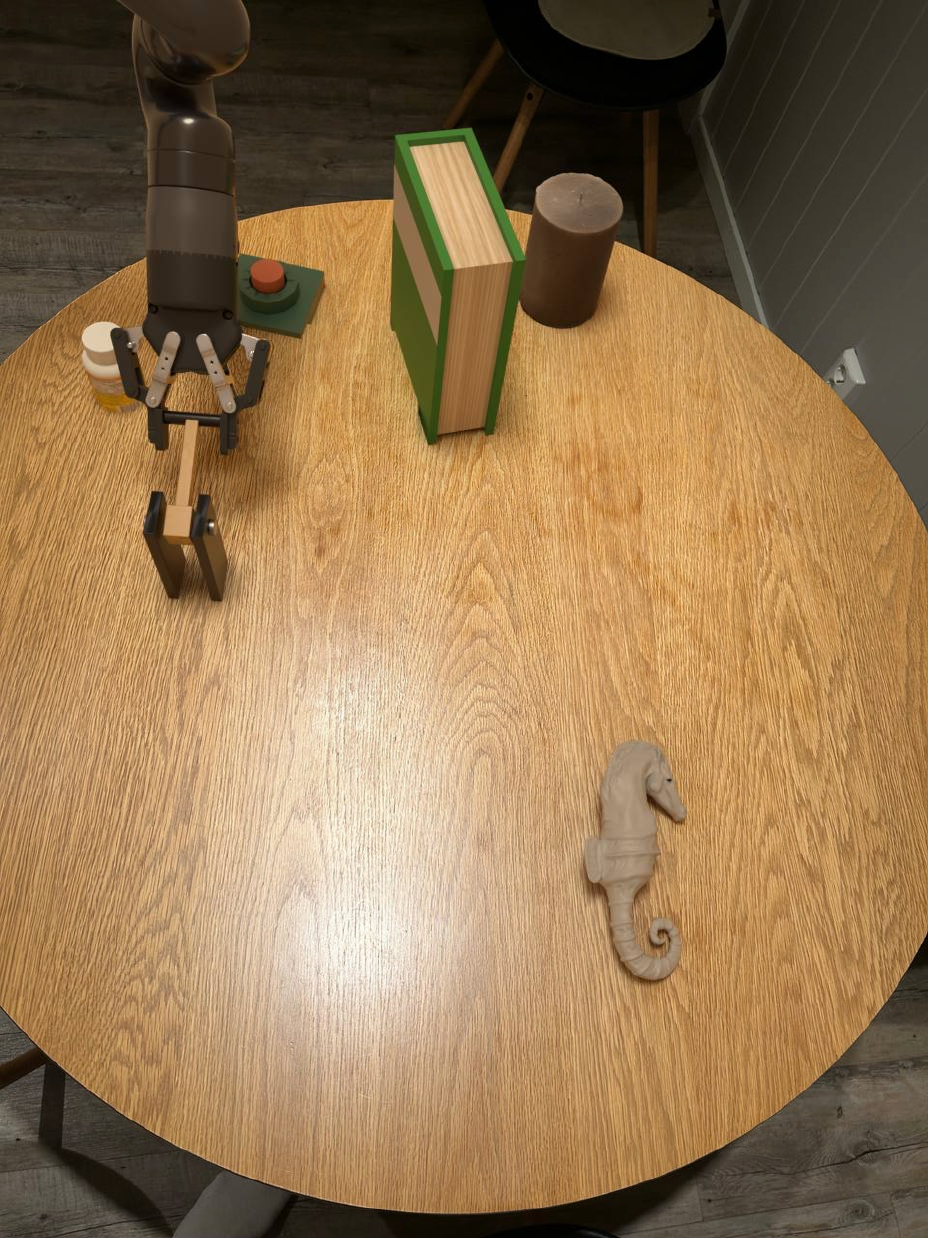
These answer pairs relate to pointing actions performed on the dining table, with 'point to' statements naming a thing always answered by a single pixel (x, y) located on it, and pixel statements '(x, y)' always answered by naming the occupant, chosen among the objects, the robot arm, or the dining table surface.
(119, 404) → the supplement bottle
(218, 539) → the bracket
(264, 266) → the button
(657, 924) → the seahorse
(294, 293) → the button box
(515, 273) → the hardback book
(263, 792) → the dining table surface
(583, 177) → the pillar candle
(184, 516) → the latch
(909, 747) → the dining table surface
